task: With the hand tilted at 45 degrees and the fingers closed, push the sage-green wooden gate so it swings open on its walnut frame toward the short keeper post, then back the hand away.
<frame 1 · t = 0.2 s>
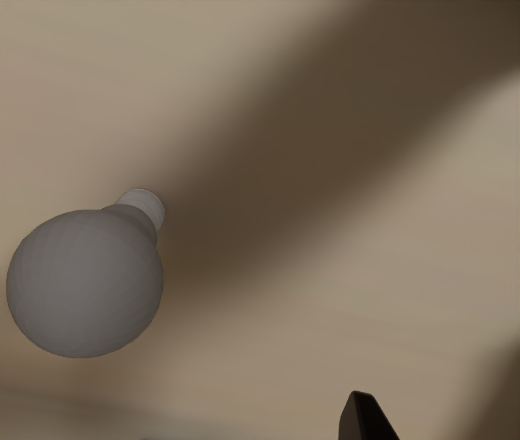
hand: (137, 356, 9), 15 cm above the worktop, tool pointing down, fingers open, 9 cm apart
light bulb: (146, 205, 25), on the worktop
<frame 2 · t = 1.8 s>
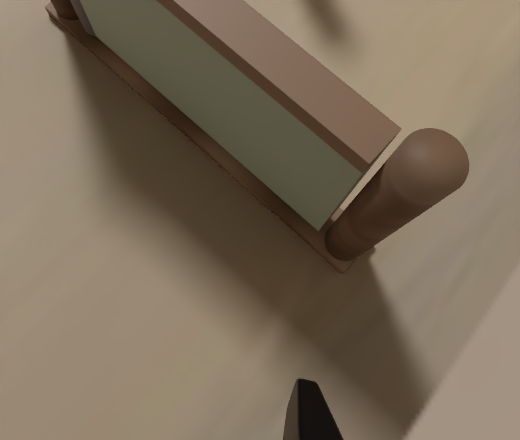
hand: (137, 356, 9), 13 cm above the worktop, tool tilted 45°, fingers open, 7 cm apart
gate frame: (101, 33, 26), on the worktop
gate: (193, 61, 19), point 5 cm above the worktop, hinge at 0.0°
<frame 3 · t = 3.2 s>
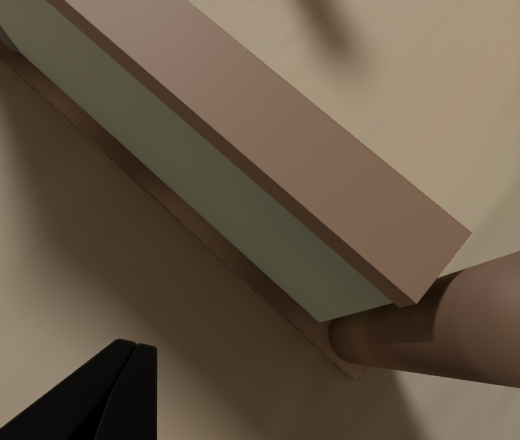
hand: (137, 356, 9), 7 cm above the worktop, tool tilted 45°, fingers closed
gate frame: (31, 48, 19), on the worktop
gate: (134, 93, 13), point 5 cm above the worktop, hinge at 0.0°
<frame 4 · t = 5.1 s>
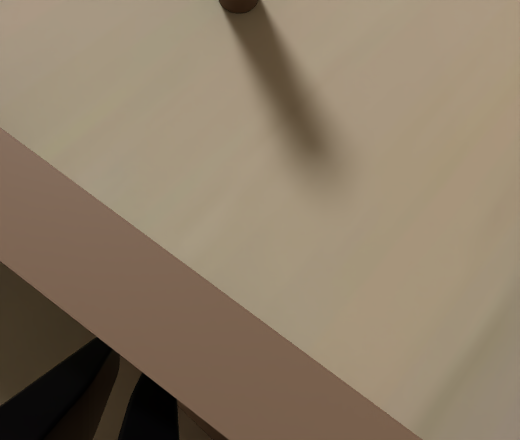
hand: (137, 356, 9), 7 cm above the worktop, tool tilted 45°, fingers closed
gate: (85, 246, 12), point 5 cm above the worktop, hinge at 5.8°, touching gripper
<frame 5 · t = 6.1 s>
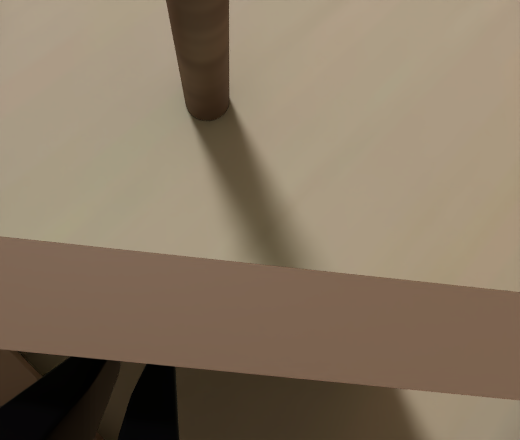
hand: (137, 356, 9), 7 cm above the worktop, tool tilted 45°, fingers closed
gate: (87, 309, 11), point 5 cm above the worktop, hinge at 36.0°, touching gripper
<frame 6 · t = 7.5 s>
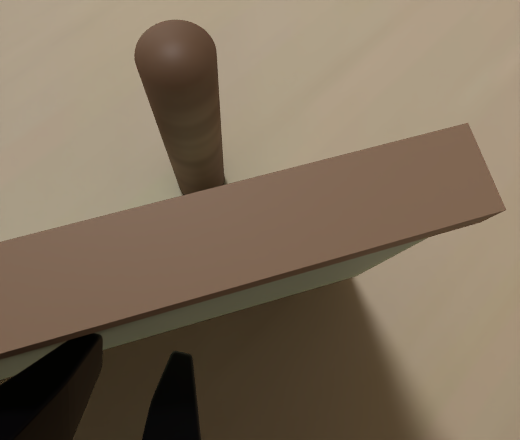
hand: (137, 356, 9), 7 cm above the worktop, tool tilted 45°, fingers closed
gate: (61, 323, 11), point 5 cm above the worktop, hinge at 58.5°, touching gripper
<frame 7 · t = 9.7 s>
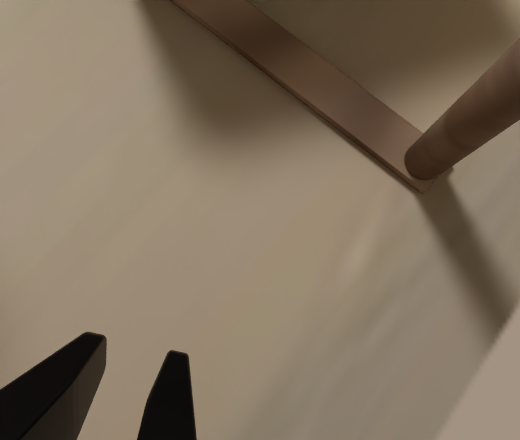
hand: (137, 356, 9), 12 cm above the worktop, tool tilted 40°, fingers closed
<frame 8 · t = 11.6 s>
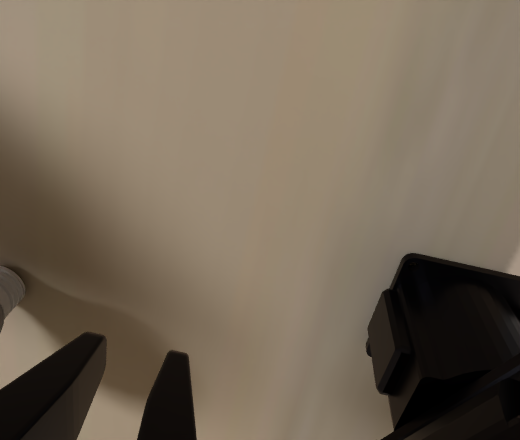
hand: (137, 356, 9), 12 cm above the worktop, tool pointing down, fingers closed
light bulb: (8, 276, 25), on the worktop
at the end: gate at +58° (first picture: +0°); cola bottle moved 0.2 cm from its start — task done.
